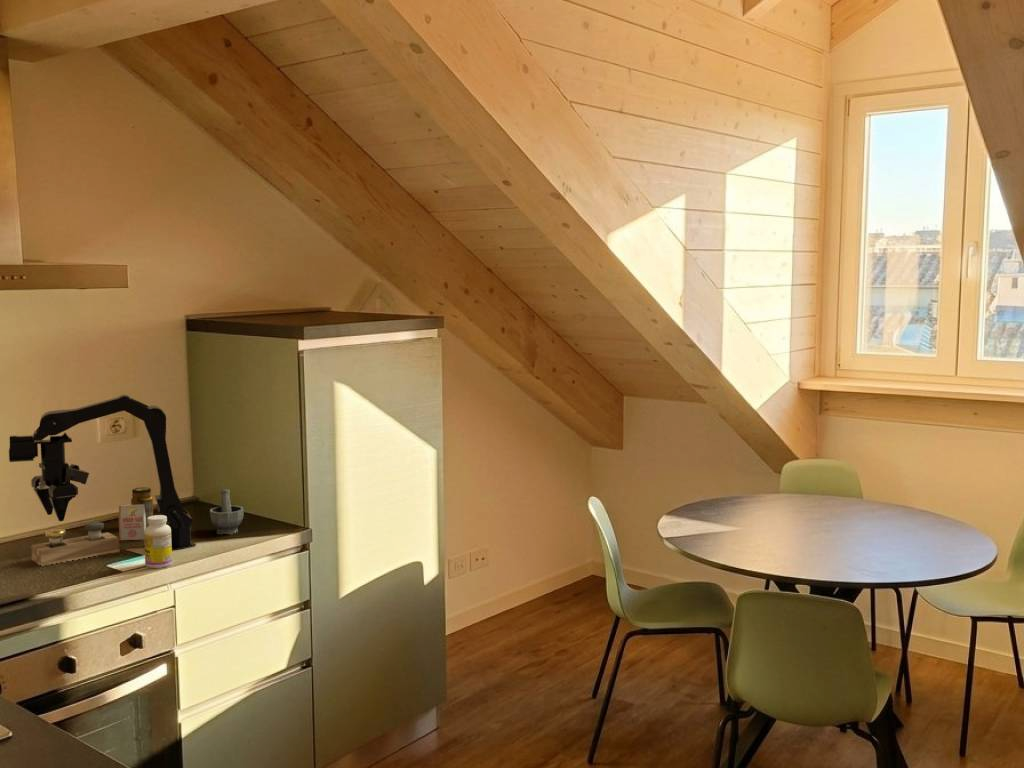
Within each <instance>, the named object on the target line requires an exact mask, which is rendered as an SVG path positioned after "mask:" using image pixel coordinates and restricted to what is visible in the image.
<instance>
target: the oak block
mask: <svg viewBox="0 0 1024 768" xmlns="http://www.w3.org/2000/svg"><path fill="white" fill-rule="evenodd" d="M30 549H31V560H32V561H33V562H34V563H35V564H37V565H38V566H40V565H41V567H46V566H45V565H47V566H52V565H51V564H53V565H56V563H58V564H61V563H60V562H63V563H67V562H66V561H69V562H73V561H72V560H74V561H78V559H80V560H84V559H83V558H85V559H89V558H88V557H91V558H93V557H92V556H96V557H98V556H97V555H101V554H106V553H111V552H117V551H119V552H120V542H119V536H116V535H114V534H113V533H110V532H107V531H106V532H101V539H100V540H94V541H89V540H88V535H85V536H84V535H83V536H77V537H72V538H71V537H70V538H66V539H63V546H59V547H53V548H50V547H49V541H48V542H42V543H36V544H31V546H30Z"/></svg>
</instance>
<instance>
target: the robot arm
mask: <svg viewBox="0 0 1024 768" xmlns="http://www.w3.org/2000/svg"><path fill="white" fill-rule="evenodd" d="M120 412H126V413H128V414H130V415H132V416H134V417H136V418H137V419H139V420H141V421H142V422H143V424H144V426H145V429H146V433H147V434H148V437H149V438H150V442H151V447H152V453H153V456H154V463H155V468H156V473H157V477H158V484H159V495H154V498H155V501H156V503H157V505H156V509H157V512H158V515H165V516H167V522H168V523H169V524H168V526H169V527H170V528H171V543H172V551H173V550H174V551H175V550H180V549H185V548H191V547H196V546H197V544H196V543H195V542H193V541H192V535H191V533H192V530H191V529H192V528H191V525H192V523H193V519H192V517H191V515H190V513H189V512H188V511H187V510H186V509H184V506H183V505H182V501H181V499H180V497H179V494H178V491H177V489H176V487H175V483H174V477H173V473H172V466H171V460H170V457H169V452H168V451H169V450H168V445H167V440H166V439H167V438H166V437H167V436H166V435H167V416H166V413H165V411H164V410H163V409H162V408H161V407H159V406H157V405H148V404H146V403H143V402H141V401H138V400H137V399H134V398H132V397H131V396H129V395H128V394H120V396H116V397H114V398H113V397H112V398H110V399H109V398H108V399H106V400H103V401H102V400H101V401H99V402H95V403H92V404H88V405H84V406H81V407H78V408H71V409H58V410H51V411H47V412H44V413H43V414H42V415H41V417H40V419H39V426H38V427H37V428H36V430H34V432H33V434H31V435H10V436H9V448H8V461H9V463H18V462H34V459H36V457H39V445H40V460H41V461H40V462H39V463H38V467H39V468H40V469H41V475H35V476H33V477H32V479H31V480H30V482H31V483H30V484H31V487H32V489H33V491H34V492H35V495H36V496H37V498H38V499H39V502H40V504H41V505H42V507H43V509H44V510H45V513H46V515H48V516H49V515H50V516H52V514H53V511H54V514H55V515H56V518H57V521H59V522H63V521H65V517H66V513H67V509H68V505H69V503H70V501H72V499H75V498H76V496H78V495H79V487H78V486H76V485H75V483H72V482H76V483H80V484H81V485H86V484H87V482H88V478H89V475H90V472H88V471H85V470H81V469H80V465H78V464H73V463H71V464H69V463H68V462H66V445H65V443H72V442H73V438H72V437H71V436H69V434H67V432H65V431H67V430H70V429H71V428H74V427H75V426H77V425H79V424H82V423H85V422H89V421H91V420H95V419H99V418H103V417H106V416H109V415H113V414H117V413H120ZM63 432H64V433H63ZM61 433H63V434H61ZM58 434H61V435H58ZM47 437H49V439H46V438H47ZM71 481H72V482H71Z"/></svg>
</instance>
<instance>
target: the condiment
mask: <svg viewBox="0 0 1024 768" xmlns="http://www.w3.org/2000/svg"><path fill="white" fill-rule="evenodd" d="M131 492H132V495H131V496H132V497H131V499H130V502H131V504H130V505H144V507H145V515H146V527H148V526H149V524H148V517H150V516H154V501H153V496H152V489H151V487H147V486H145V487H143V486H140V487H135V488H132V491H131Z"/></svg>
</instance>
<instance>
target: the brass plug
mask: <svg viewBox="0 0 1024 768" xmlns="http://www.w3.org/2000/svg"><path fill="white" fill-rule="evenodd" d="M64 536H66V529H65V528H52V529H48V530H45V538H48V542H49V547H50V548H53V547H59V546H63V540H64V539H63V537H64Z"/></svg>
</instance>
